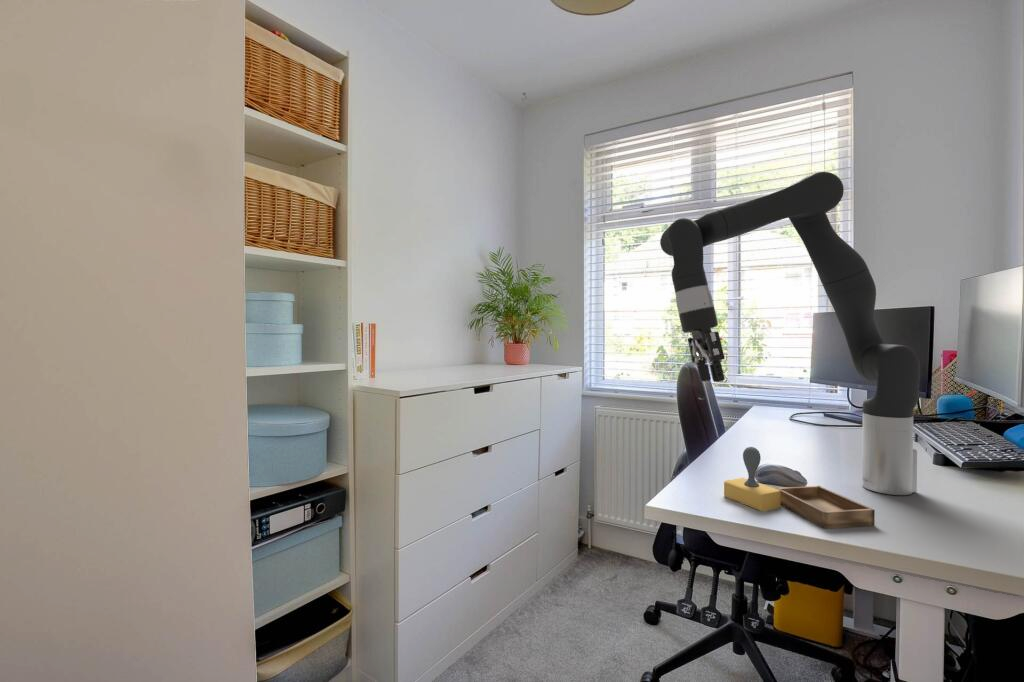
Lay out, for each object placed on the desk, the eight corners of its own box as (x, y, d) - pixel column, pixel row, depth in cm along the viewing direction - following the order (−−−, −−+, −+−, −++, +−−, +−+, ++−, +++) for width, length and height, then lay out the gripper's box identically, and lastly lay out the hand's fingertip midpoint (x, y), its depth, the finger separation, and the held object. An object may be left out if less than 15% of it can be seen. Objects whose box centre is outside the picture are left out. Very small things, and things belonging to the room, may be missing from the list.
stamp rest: (819, 499, 106) (819, 485, 106) (874, 525, 92) (874, 509, 92) (775, 501, 105) (775, 488, 105) (824, 528, 91) (824, 512, 91)
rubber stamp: (781, 507, 102) (781, 450, 102) (761, 512, 100) (761, 453, 99) (742, 493, 111) (742, 440, 111) (722, 497, 109) (722, 443, 109)
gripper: (724, 301, 101) (742, 378, 100) (702, 310, 116) (717, 377, 114) (688, 308, 102) (705, 385, 101) (670, 316, 116) (685, 383, 115)
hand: (712, 381), depth 107 cm, fingers open, 8 cm apart
